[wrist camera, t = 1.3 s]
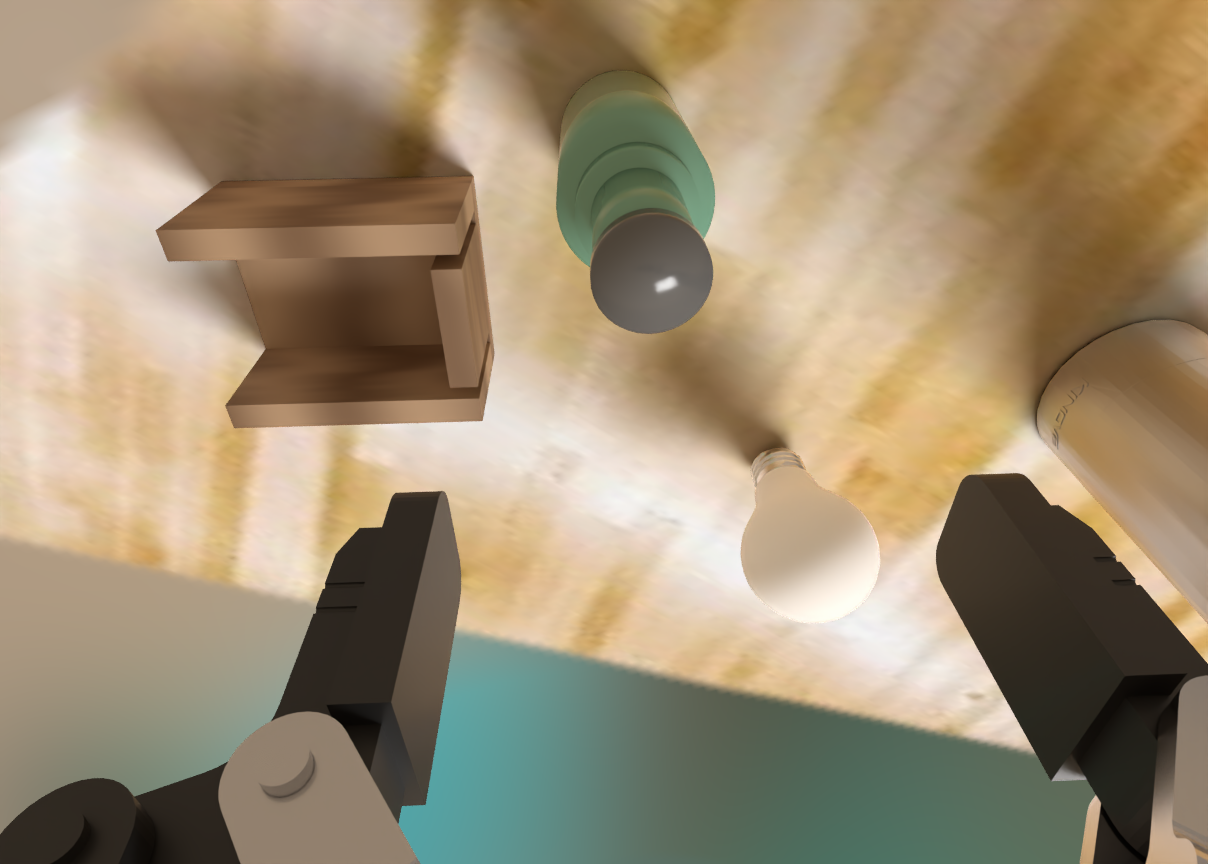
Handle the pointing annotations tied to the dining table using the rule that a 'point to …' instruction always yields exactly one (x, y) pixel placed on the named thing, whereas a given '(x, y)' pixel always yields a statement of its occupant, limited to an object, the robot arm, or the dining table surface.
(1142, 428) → the robot arm
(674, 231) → the bottle
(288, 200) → the brown open-sided frame
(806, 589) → the light bulb
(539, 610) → the dining table surface
